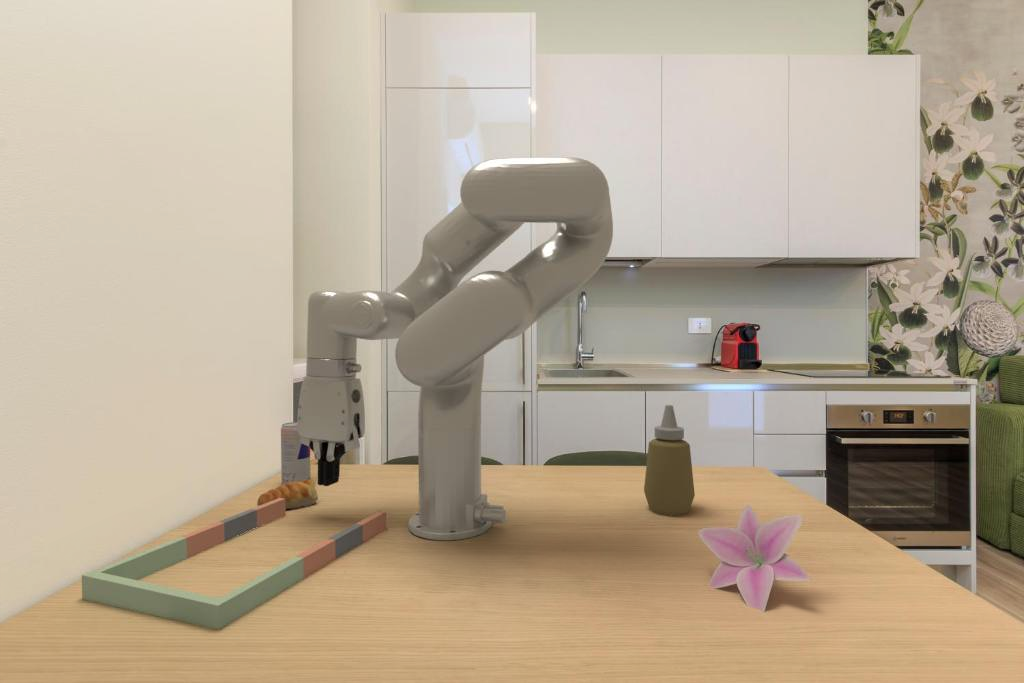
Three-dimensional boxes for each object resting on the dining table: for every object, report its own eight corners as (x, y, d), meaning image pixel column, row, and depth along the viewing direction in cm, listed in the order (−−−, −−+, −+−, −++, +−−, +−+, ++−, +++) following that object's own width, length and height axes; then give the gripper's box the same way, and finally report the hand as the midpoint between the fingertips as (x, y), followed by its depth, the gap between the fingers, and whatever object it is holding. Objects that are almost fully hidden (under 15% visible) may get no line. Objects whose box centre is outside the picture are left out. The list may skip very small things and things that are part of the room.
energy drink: (316, 482, 111) (315, 422, 110) (295, 489, 106) (294, 427, 105) (296, 479, 113) (295, 421, 113) (275, 486, 108) (274, 425, 108)
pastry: (265, 516, 90) (266, 493, 89) (250, 505, 94) (251, 483, 94) (321, 504, 96) (321, 482, 96) (304, 494, 101) (304, 474, 101)
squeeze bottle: (640, 519, 88) (640, 407, 88) (647, 504, 96) (647, 401, 95) (692, 526, 85) (693, 410, 85) (696, 510, 93) (696, 403, 92)
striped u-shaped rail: (386, 531, 84) (386, 511, 83) (218, 635, 55) (218, 605, 55) (279, 515, 91) (279, 497, 90) (82, 601, 62) (81, 575, 62)
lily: (688, 571, 70) (678, 512, 66) (775, 542, 70) (770, 483, 67) (739, 654, 59) (730, 590, 55) (841, 619, 59) (839, 553, 55)
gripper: (385, 370, 88) (381, 483, 89) (309, 365, 94) (306, 472, 94) (356, 374, 81) (353, 496, 82) (276, 367, 87) (273, 483, 87)
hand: (328, 483), depth 88 cm, fingers closed
